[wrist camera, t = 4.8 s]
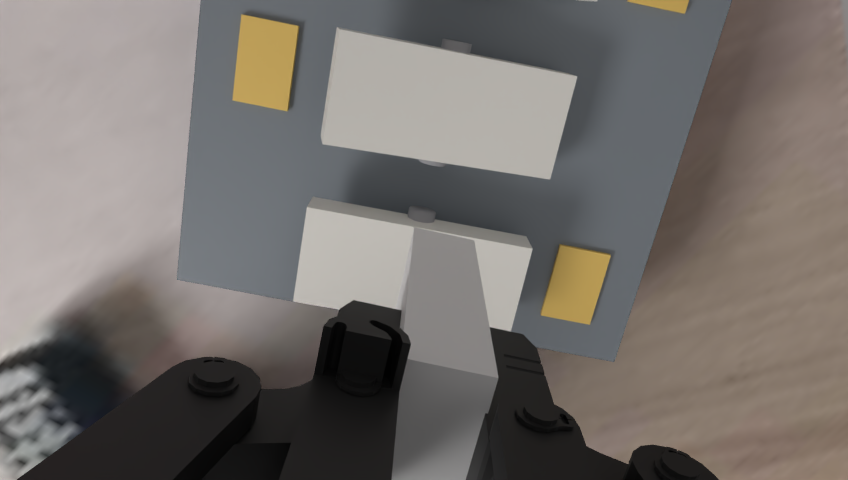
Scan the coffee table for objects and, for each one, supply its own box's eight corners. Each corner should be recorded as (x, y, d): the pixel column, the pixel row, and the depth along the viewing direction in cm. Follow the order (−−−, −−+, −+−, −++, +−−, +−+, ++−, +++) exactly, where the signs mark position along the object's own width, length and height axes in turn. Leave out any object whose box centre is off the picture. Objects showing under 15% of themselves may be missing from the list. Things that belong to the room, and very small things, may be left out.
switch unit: (216, 240, 31) (174, 281, 26) (261, -195, 26) (219, -246, 21) (590, 311, 32) (618, 364, 27) (714, -95, 26) (778, -121, 22)
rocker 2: (299, 290, 26) (292, 309, 24) (315, 186, 24) (308, 198, 23) (501, 326, 26) (506, 346, 25) (527, 226, 25) (534, 240, 23)
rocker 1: (318, 142, 23) (321, 153, 22) (337, 16, 22) (341, 19, 20) (531, 175, 25) (547, 187, 24) (560, 62, 24) (579, 67, 22)
